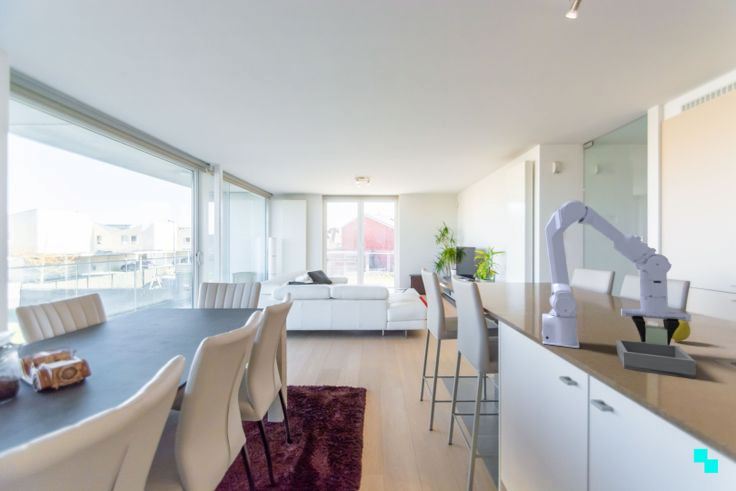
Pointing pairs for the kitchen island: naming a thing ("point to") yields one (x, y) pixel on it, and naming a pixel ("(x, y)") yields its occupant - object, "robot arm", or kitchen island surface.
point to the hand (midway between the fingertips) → (654, 344)
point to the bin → (655, 358)
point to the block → (656, 334)
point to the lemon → (681, 331)
